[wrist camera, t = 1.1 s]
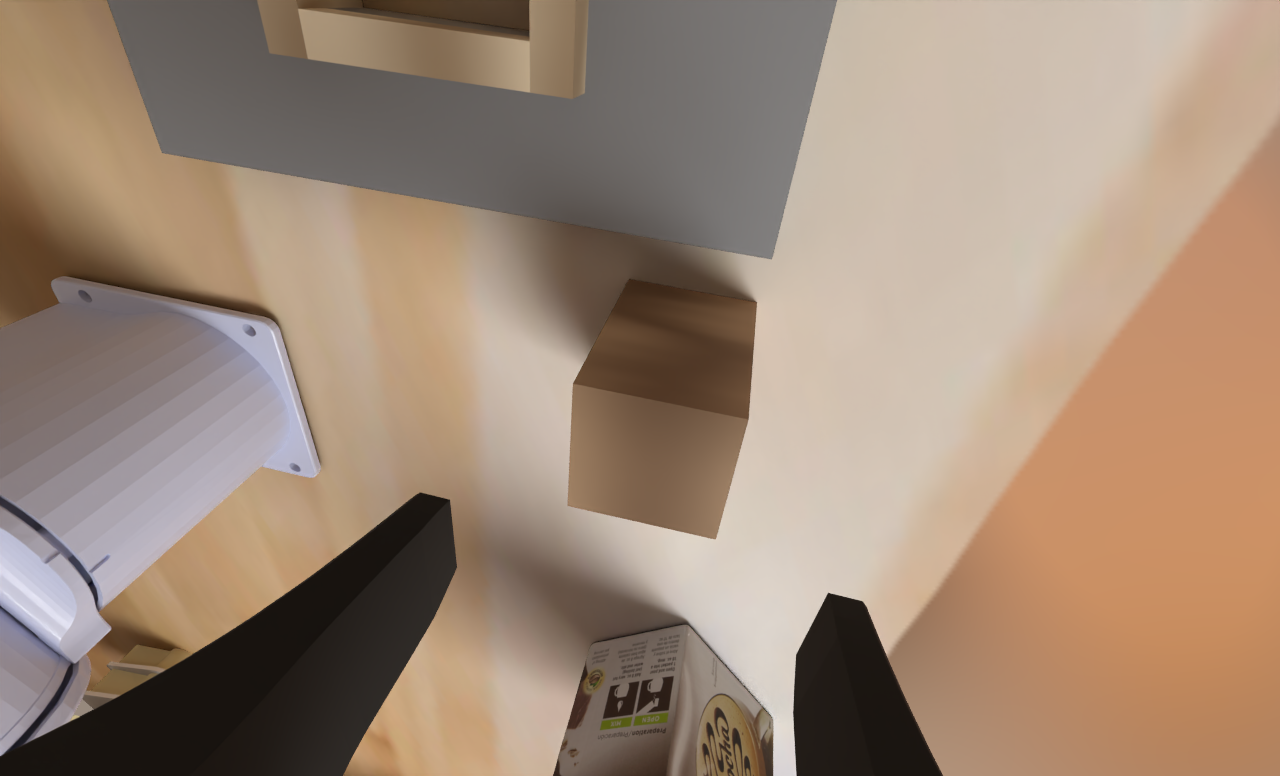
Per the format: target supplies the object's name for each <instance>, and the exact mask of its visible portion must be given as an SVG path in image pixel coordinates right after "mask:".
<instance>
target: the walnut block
mask: <svg viewBox="0 0 1280 776" xmlns="http://www.w3.org/2000/svg"><path fill="white" fill-rule="evenodd" d="M756 308H757V302H752V301H746V300H741V299H735V298H730V297H724V296H719V295H713V294H708V293H703V292H697V291H692V290H686V289H681V288H675V287H670V286H664V285H659V284H653V283H648V282H642V281H637V280H631V279H629V280H628V282H627V284H626V286H625V288H624V290H623V291H622V293H621V295H620V297H619V299H618V301H617V303H616V304H615V306H614V308H613V310H612V312H611V314H610V316H609V317H608V319H607V321H606V323H605V325H604V327H603V329H602V331H601V332H600V334H599V336H598V338H597V340H596V342H595V344H594V345H593V347H592V349H591V351H590V353H589V355H588V357H587V359H586V360H585V362H584V364H583V366H582V368H581V370H580V372H579V373H578V375H577V377H576V379H575V381H574V383H573V395H572V418H571V441H570V463H569V486H568V506H571V507H575V508H579V509H584V510H588V511H593V512H597V513H602V514H606V515H610V516H615V517H619V518H624V519H628V520H632V521H637V522H641V523H646V524H650V525H654V526H659V527H663V528H668V529H672V530H676V531H681V532H685V533H690V534H694V535H698V536H703V537H707V538H712V539H716V537H717V533H718V529H719V526H720V522H721V518H722V515H723V511H724V507H725V504H726V500H727V496H728V493H729V489H730V485H731V482H732V478H733V474H734V471H735V467H736V463H737V460H738V456H739V452H740V449H741V445H742V441H743V438H744V434H745V430H746V427H747V423H748V419H749V405H750V391H751V377H752V364H753V350H754V336H755V322H756Z"/></svg>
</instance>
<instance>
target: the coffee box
mask: <svg viewBox="0 0 1280 776" xmlns="http://www.w3.org/2000/svg"><path fill="white" fill-rule="evenodd" d="M553 776H773V719H772V718H771V716H770V715H769V714H768V713H767V712H766V711H765V710H764V709H763V708H762V706H761V705H760V704H759V703H758V702H757V701H756V700H755V699H754V698H753V696H752V695H751V694H750V693H749V692H748V691H747V690H746V689H745V688H744V686H743V685H742V684H741V683H740V682H739V681H738V680H737V679H736V678H735V676H734V675H733V674H732V673H731V672H730V671H729V670H728V669H727V668H726V666H725V665H724V664H723V663H722V662H721V661H720V660H719V659H718V658H717V657H716V655H715V654H714V653H713V652H712V651H711V650H710V649H709V648H708V647H707V645H706V644H705V643H704V642H703V641H702V640H701V639H700V638H699V636H698V635H697V634H696V633H695V632H694V631H693V630H692V629H691V628H690V627H689V626H688V625H679V626H674V627H670V628H665V629H661V630H656V631H651V632H646V633H641V634H637V635H632V636H626V637H622V638H617V639H612V640H608V641H603V642H597V643H593V644H592V645H591V647H590V649H589V652H588V655H587V659H586V663H585V666H584V670H583V673H582V677H581V680H580V684H579V687H578V691H577V694H576V698H575V701H574V705H573V708H572V712H571V715H570V719H569V722H568V726H567V729H566V732H565V736H564V739H563V742H562V745H561V749H560V752H559V756H558V760H557V764H556V768H555V771H554V774H553Z"/></svg>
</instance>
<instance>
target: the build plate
mask: <svg viewBox="0 0 1280 776" xmlns="http://www.w3.org/2000/svg"><path fill="white" fill-rule="evenodd" d="M107 1H108V4H109V7H110V10H111V12H112V15H113V18H114V21H115V23H116V26H117V29H118V32H119V35H120V37H121V40H122V43H123V46H124V48H125V51H126V54H127V57H128V60H129V62H130V65H131V68H132V71H133V73H134V76H135V79H136V82H137V84H138V87H139V90H140V93H141V96H142V98H143V101H144V104H145V107H146V109H147V112H148V115H149V118H150V121H151V123H152V126H153V129H154V132H155V134H156V137H157V140H158V143H159V146H160V148H161V151H162V153H165V154H171V155H177V156H183V157H188V158H194V159H200V160H206V161H211V162H217V163H223V164H228V165H234V166H240V167H246V168H251V169H257V170H263V171H269V172H274V173H280V174H286V175H291V176H297V177H303V178H309V179H314V180H320V181H326V182H332V183H337V184H343V185H349V186H354V187H360V188H366V189H372V190H377V191H383V192H389V193H395V194H400V195H406V196H412V197H418V198H423V199H429V200H435V201H440V202H446V203H452V204H458V205H463V206H469V207H475V208H481V209H486V210H492V211H498V212H503V213H509V214H515V215H521V216H526V217H532V218H538V219H544V220H549V221H555V222H561V223H567V224H572V225H578V226H584V227H589V228H595V229H601V230H607V231H612V232H618V233H624V234H630V235H635V236H641V237H647V238H652V239H658V240H664V241H670V242H675V243H681V244H687V245H693V246H698V247H704V248H710V249H716V250H721V251H727V252H733V253H738V254H744V255H750V256H756V257H761V258H767V259H772V257H773V253H774V249H775V245H776V241H777V237H778V233H779V229H780V225H781V221H782V217H783V213H784V209H785V205H786V201H787V197H788V193H789V189H790V185H791V181H792V177H793V173H794V169H795V165H796V162H797V158H798V154H799V150H800V146H801V142H802V138H803V134H804V130H805V126H806V122H807V118H808V114H809V110H810V106H811V102H812V98H813V94H814V90H815V86H816V82H817V78H818V74H819V70H820V66H821V62H822V58H823V54H824V50H825V46H826V42H827V38H828V34H829V30H830V26H831V22H832V18H833V14H834V10H835V6H836V2H837V0H529V21H530V31H528V30H521V29H514V28H506V27H499V26H492V25H485V24H478V23H470V22H463V21H456V20H449V19H442V18H435V17H427V16H420V15H413V14H406V13H399V12H391V11H384V10H377V9H370V8H363V4H362V0H107Z"/></svg>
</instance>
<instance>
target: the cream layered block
mask: <svg viewBox="0 0 1280 776" xmlns="http://www.w3.org/2000/svg"><path fill="white" fill-rule="evenodd" d="M190 655H192V653H190V652H188V651H185V650H182V649H172V650H171V651H167V650H162V649H156V648H151V647H146V646H141V645H136V646H135V647H134V648H133V649H132V650H131V651H130V652H129V653H128V654H127V655H126V656H125V657H124V658H123V659H122V660H121V661H120V662H119V663H118V662H110V663H109V664H108V665H107V667H108V668H109V669H110V670H111V671H110V672H109V673H108V674H107V675H106V676H105V677H104V678H103V679H102V680H101V681H100V682H99V683H98V684H97V685H96V686H95V687H94V688H93V689H92V690H91V691H85V694H84V696H83V698H82V699H83V700H84V701H85V702H86V703H88V704H89V705H90V706H91V707H92V708H93V709H95V708H97V707H99V706H101V705H103V704H105V703H107V702H109V701H111V700H112V699H114V698H116V697H118V696H120V695H122V694H124V693H125V692H127V691H129V690H131V689H133V688H134V687H136V686H138V685H140V684H142V683H143V682H145V681H147V680H149V679H150V678H152V677H154V676H156V675H157V674H159V673H161V672H163V671H165V670H166V669H168V668H170V667H172V666H173V665H175V664H177V663H179V662H180V661H182V660H184V659H185V658H187V657H189V656H190ZM78 717H80V716H75V715H73V717H72V719H71V720H70V721H72V720H74V719H76V718H78Z"/></svg>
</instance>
